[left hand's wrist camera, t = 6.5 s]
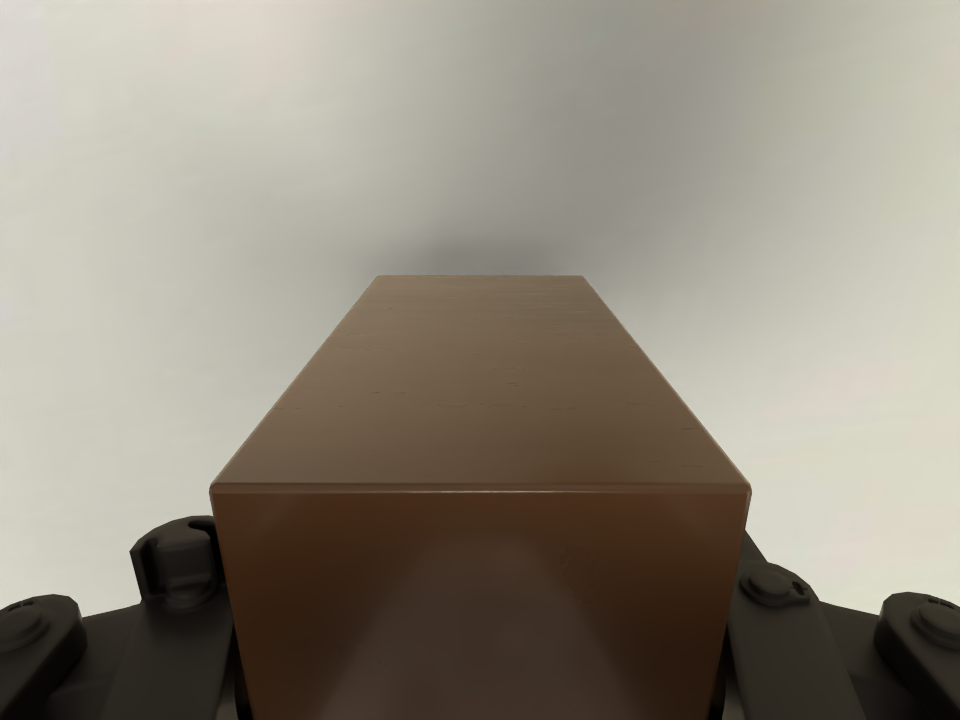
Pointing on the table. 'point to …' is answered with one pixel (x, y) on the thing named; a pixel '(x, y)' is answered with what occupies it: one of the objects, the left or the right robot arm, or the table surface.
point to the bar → (480, 518)
